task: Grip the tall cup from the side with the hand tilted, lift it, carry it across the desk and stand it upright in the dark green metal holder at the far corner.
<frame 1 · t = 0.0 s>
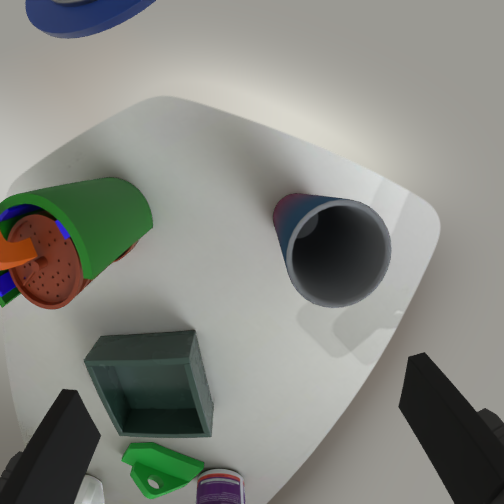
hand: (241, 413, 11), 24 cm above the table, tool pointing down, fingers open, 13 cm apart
holder: (157, 374, 37), on the table
bracket: (162, 459, 42), on the table
coaster caddy: (107, 218, 32), on the table
cup: (296, 216, 33), on the table
pill bottle: (221, 477, 44), on the table
mug: (94, 476, 44), on the table
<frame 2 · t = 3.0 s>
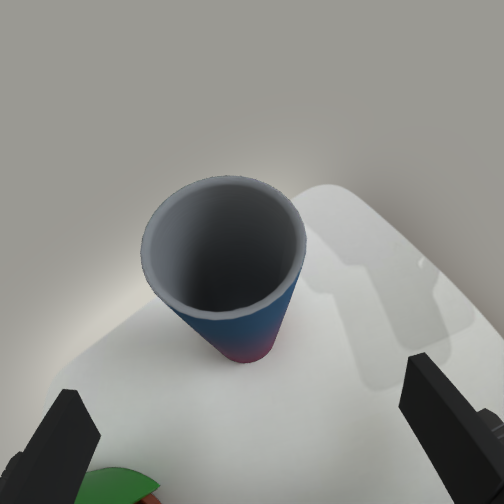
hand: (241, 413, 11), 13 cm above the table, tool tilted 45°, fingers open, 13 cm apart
cup: (245, 334, 26), on the table
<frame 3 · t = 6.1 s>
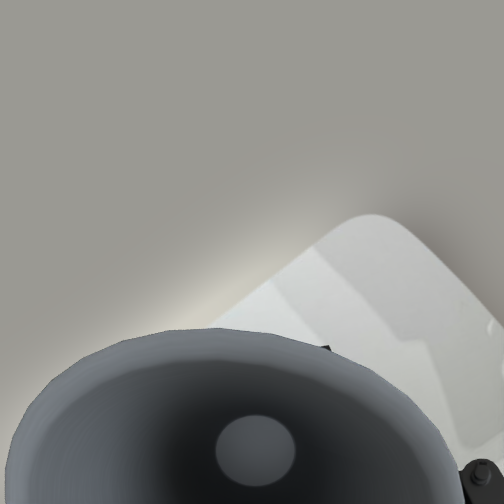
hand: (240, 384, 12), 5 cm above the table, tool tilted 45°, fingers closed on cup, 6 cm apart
cup: (255, 450, 15), on the table, touching gripper
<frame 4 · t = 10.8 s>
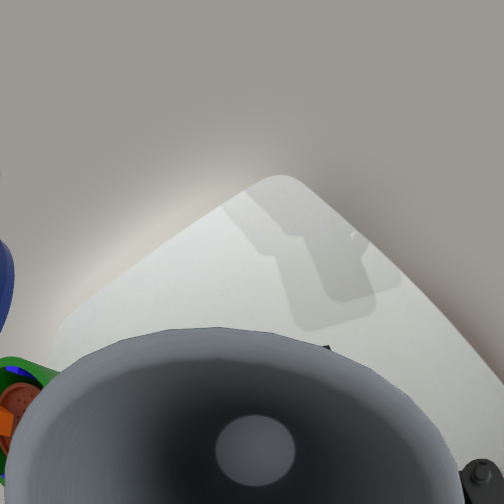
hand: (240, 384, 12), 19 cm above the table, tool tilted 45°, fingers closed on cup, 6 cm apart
coaster caddy: (106, 430, 27), on the table
cup: (255, 450, 15), point 13 cm above the table, touching gripper
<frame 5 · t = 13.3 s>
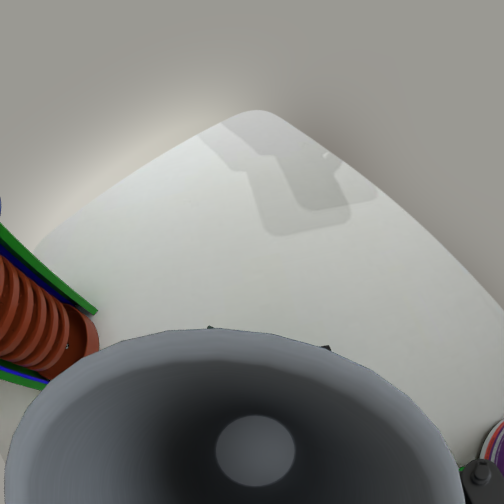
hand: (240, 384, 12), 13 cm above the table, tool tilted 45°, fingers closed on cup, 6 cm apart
coaster caddy: (64, 346, 26), on the table
cup: (255, 450, 15), point 8 cm above the table, touching gripper
pill bottle: (501, 452, 18), on the table
when the fingers open (6 cm above the table, at t = 15.6 s): cup stays where it is, resting on holder.
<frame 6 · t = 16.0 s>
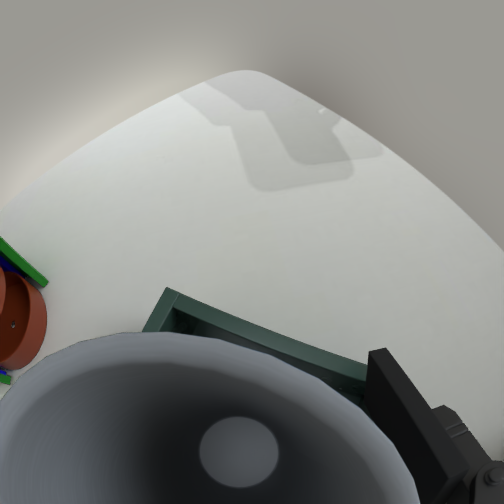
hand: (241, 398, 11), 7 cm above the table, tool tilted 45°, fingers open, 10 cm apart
holder: (239, 449, 16), on the table
coaster caddy: (11, 325, 20), on the table
cup: (239, 451, 15), point 1 cm above the table, touching holder
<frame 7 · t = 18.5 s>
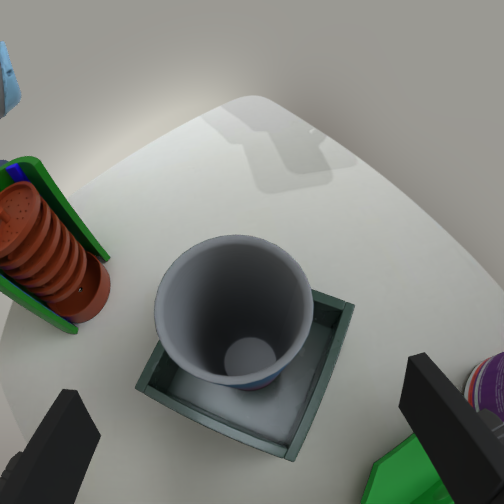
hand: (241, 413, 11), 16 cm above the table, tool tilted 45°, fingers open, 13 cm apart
holder: (250, 363, 27), on the table
bracket: (417, 471, 20), on the table
coaster caddy: (77, 290, 31), on the table
cup: (250, 363, 26), point 1 cm above the table, touching holder
pill bottle: (486, 396, 23), on the table
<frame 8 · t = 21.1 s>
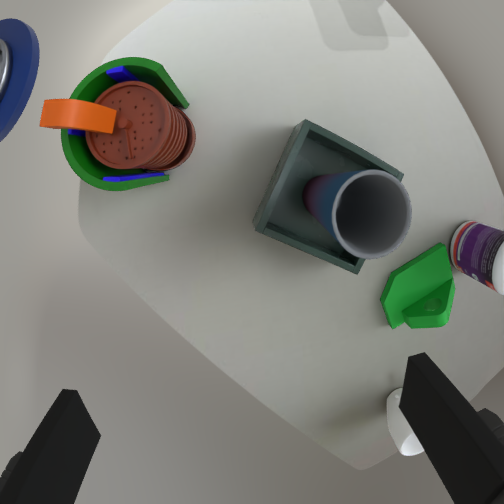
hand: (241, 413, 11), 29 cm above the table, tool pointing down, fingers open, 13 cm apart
holder: (320, 195, 37), on the table
bracket: (414, 283, 41), on the table
coaster caddy: (159, 139, 35), on the table
cup: (322, 196, 37), point 1 cm above the table, touching holder
pill bottle: (464, 244, 40), on the table
mug: (394, 390, 47), on the table
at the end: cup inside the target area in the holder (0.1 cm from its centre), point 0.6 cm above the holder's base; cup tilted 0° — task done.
